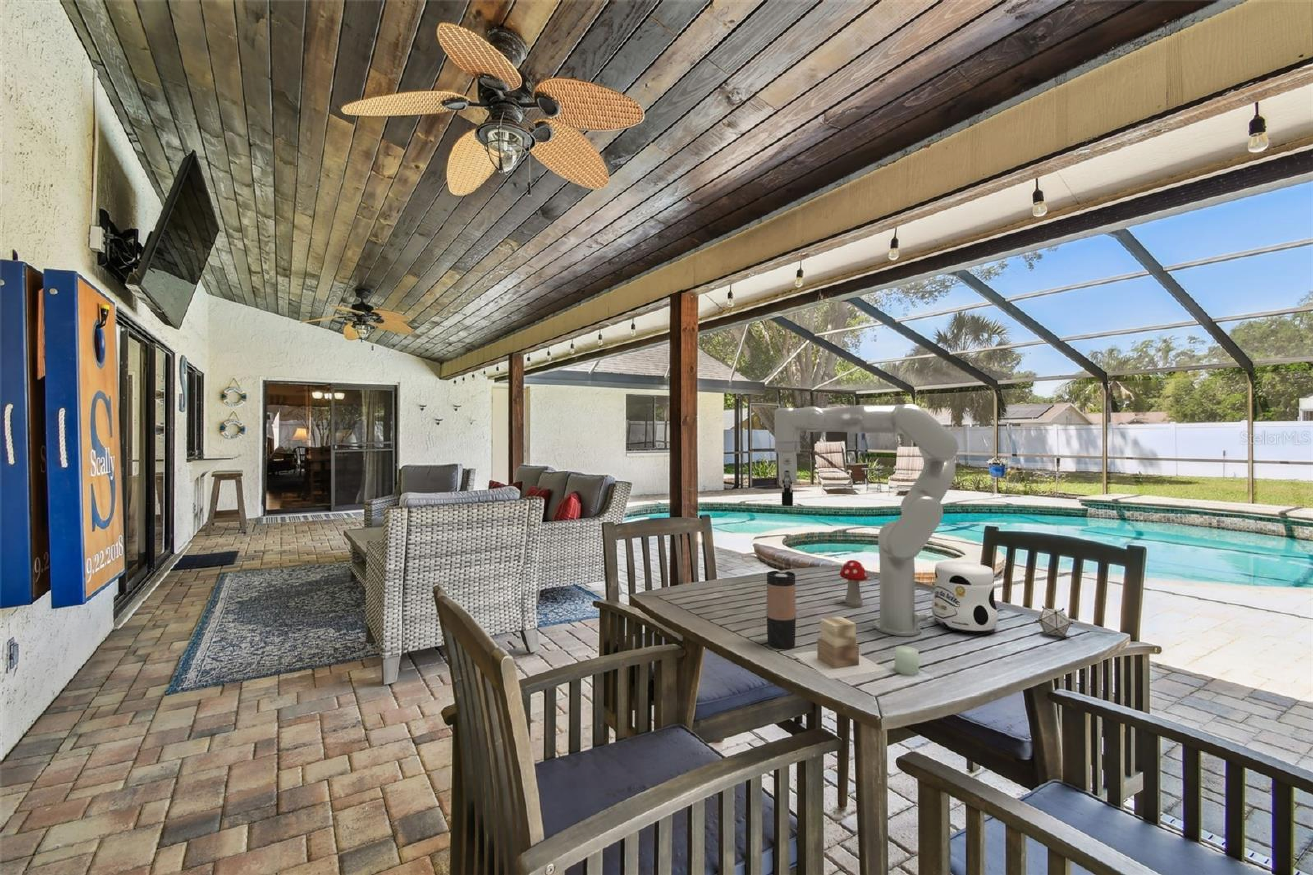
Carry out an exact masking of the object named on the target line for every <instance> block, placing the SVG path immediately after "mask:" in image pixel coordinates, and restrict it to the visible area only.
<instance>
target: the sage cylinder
mask: <svg viewBox="0 0 1313 875" xmlns="http://www.w3.org/2000/svg"><path fill="white" fill-rule="evenodd" d="M919 652H920V651H919V649H917V648H915V647H911V646H908V645H899V646H898V645H897V646H894V670H895V672H896V673H898V674H901V675H904V676H917V675H919V673H920V672H919V670H920V668H919V667H920V666H919V664H920V662H919V661H920V660H919V659H920V658H919V655H920V654H919Z"/></svg>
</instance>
